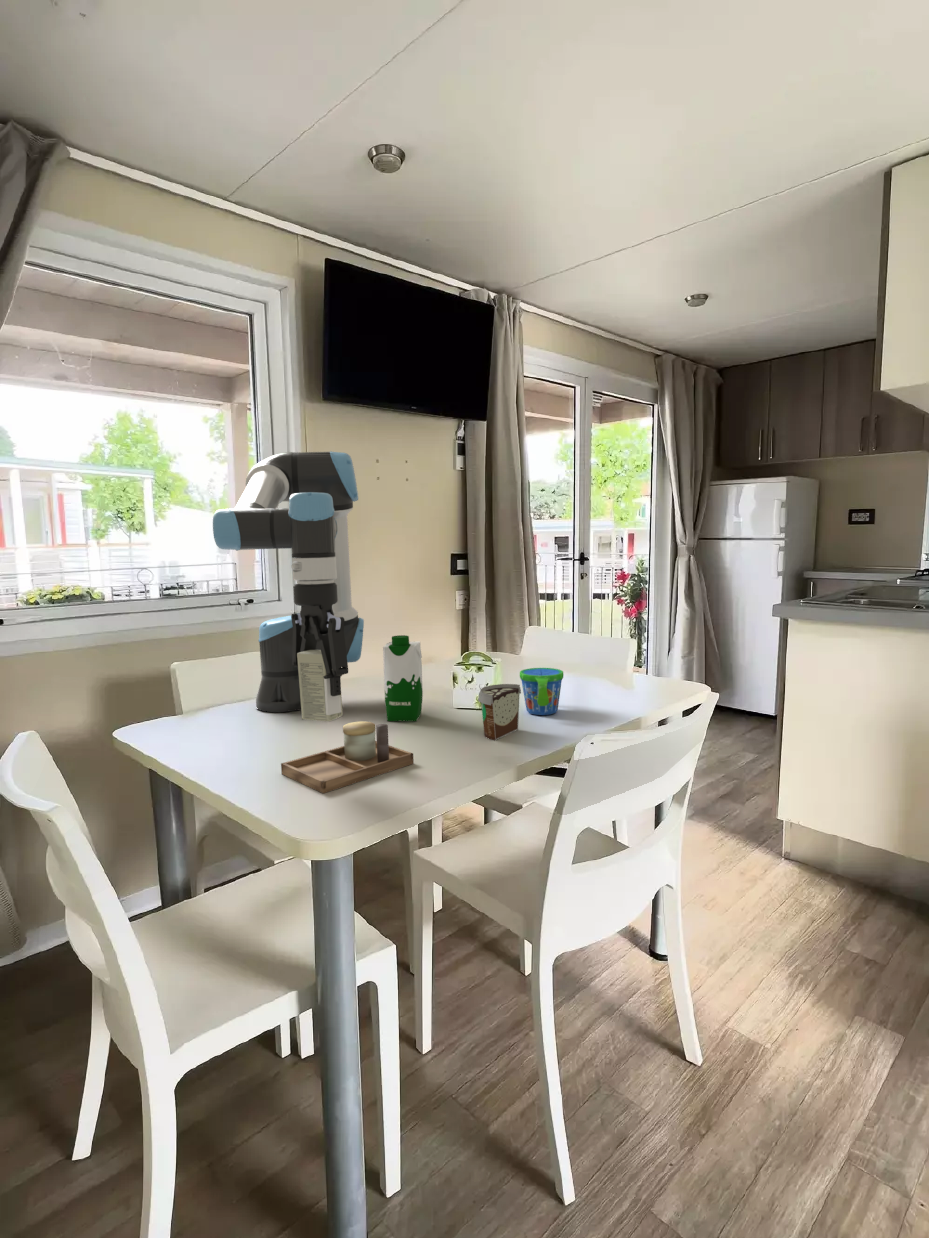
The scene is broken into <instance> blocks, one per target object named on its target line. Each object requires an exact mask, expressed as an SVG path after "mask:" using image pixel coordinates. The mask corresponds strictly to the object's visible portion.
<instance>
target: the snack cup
mask: <svg viewBox="0 0 929 1238" xmlns="http://www.w3.org/2000/svg"><path fill="white" fill-rule="evenodd" d="M519 678H520V681H521V685H522V693H523V697H524V704H525V709H526V711H527V712H528V714H531V715H535V716H550V715H553V714H556V713H557V712H558V710H559V703H560V698H561V689H562V682H563V679H564V671H563V670H561V669H560V668H559V669H558V668H554V667H553V668H551V667H533V668H532V667H531V668H525V669H522V670H520V671H519Z"/></svg>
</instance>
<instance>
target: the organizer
mask: <svg viewBox="0 0 929 1238" xmlns="http://www.w3.org/2000/svg"><path fill="white" fill-rule="evenodd" d="M342 733H343V746H337V747H335V748H332V749H328V750H325V751H321V752H316V753H313V754H311V755H307V756H303V757H299V758H296V759H292V760H288V761H286V762H281V763H280V765H281V766H280V767H281V768H280V769H281V775H283V776H285V777H287V778H289V779H292V780H294V781H296V782H297V783H300V784H302V785H305V786H306V787H309V788H310V789H313V790H315V791H317V792H319V793H321V794H326V793H329V792H332V791H334V790H338V789H341V788H344V787H347V786H350V785H353V784H356V783H359V782H362V781H364V780H369V779H371V778H374V777H377V776H380V775H384V774H386V773H389V772H392V771H395V770H399V769H402V768H405V767H407V766H410V765H414V753H413V752H410V751H407V750H404V749H400V748H399V747H395V746H392V745H390V744H389V724H386V723H378V724H376V723H374V722H372V721H354V722H348V723H345V724H344V725H343V726H342Z"/></svg>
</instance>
